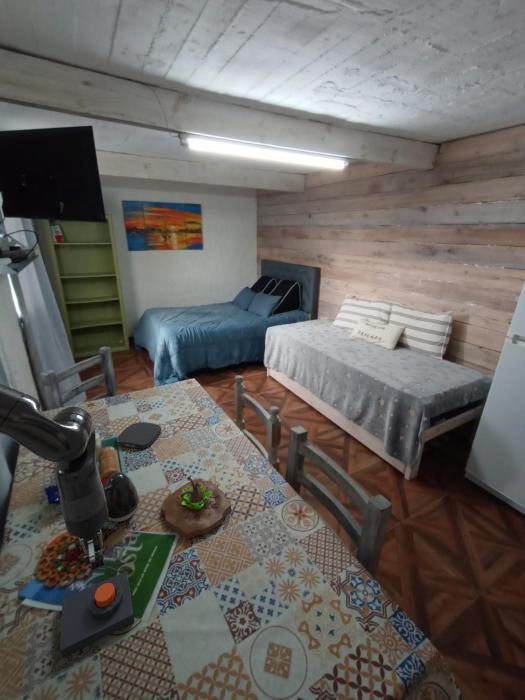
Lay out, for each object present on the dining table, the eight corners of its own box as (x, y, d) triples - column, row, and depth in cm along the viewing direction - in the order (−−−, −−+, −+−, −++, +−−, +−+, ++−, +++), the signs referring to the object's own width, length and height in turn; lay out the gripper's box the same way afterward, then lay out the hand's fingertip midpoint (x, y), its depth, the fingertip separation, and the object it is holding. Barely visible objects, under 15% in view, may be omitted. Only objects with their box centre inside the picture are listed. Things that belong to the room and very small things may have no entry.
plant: (188, 550, 88) (186, 520, 84) (152, 510, 100) (148, 482, 96) (241, 508, 101) (240, 480, 98) (203, 477, 114) (202, 451, 110)
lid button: (96, 611, 70) (95, 605, 69) (95, 593, 73) (94, 587, 72) (116, 601, 71) (114, 595, 71) (114, 585, 75) (113, 579, 74)
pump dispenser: (96, 521, 95) (88, 482, 90) (122, 496, 105) (115, 459, 99) (123, 532, 92) (116, 492, 87) (147, 505, 101) (142, 467, 96)
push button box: (62, 658, 65) (58, 645, 63) (64, 606, 74) (60, 593, 72) (134, 622, 71) (132, 609, 70) (128, 577, 80) (126, 565, 79)
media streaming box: (164, 429, 140) (163, 424, 139) (147, 450, 127) (146, 444, 126) (134, 425, 142) (133, 420, 141) (114, 446, 129) (113, 439, 128)
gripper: (63, 487, 66) (78, 547, 72) (60, 538, 55) (78, 603, 61) (103, 475, 69) (114, 533, 76) (107, 521, 59) (120, 584, 65)
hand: (98, 564), depth 68 cm, fingers closed
